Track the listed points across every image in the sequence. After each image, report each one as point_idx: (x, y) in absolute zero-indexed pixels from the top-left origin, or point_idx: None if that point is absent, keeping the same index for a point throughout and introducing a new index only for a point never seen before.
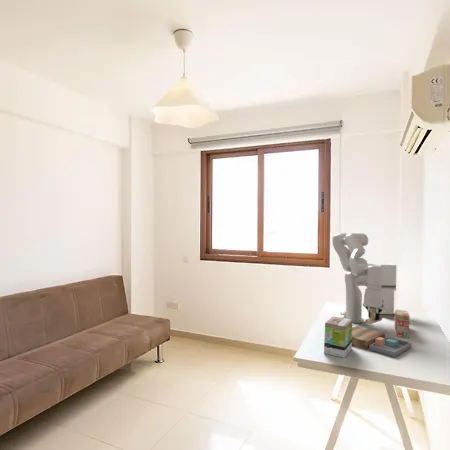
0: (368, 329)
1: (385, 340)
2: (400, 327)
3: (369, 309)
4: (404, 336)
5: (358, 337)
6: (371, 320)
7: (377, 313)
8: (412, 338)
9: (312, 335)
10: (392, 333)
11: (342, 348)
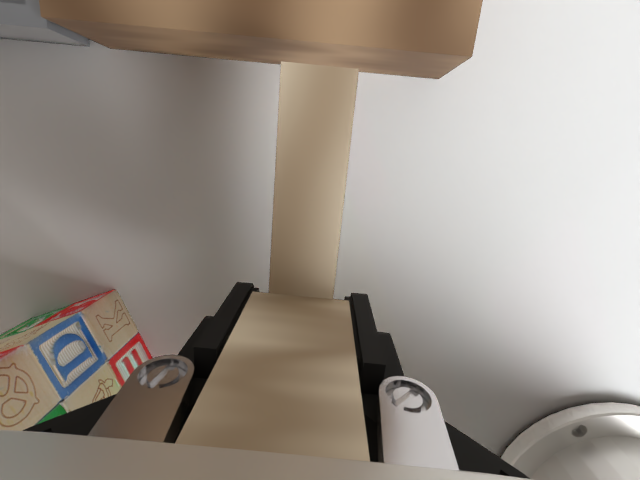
0: (274, 11)
1: None
2: (6, 346)
3: (388, 424)
4: (53, 313)
5: None
6: (277, 176)
7: (170, 355)
8: (3, 323)
9: None
10: (174, 341)
11: None
